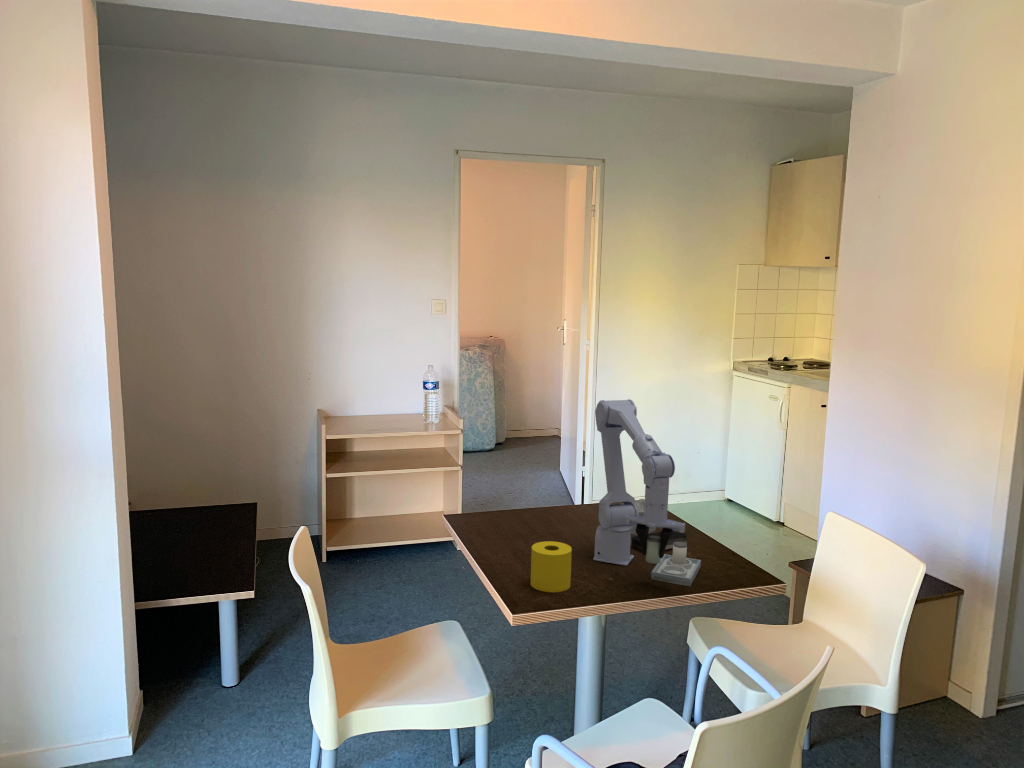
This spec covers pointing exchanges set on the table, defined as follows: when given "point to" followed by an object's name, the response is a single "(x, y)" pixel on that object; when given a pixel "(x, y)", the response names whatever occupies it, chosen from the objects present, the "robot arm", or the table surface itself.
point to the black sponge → (674, 537)
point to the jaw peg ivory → (679, 553)
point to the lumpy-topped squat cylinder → (641, 514)
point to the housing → (676, 571)
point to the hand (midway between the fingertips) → (653, 555)
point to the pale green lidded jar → (653, 549)
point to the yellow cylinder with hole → (551, 566)
